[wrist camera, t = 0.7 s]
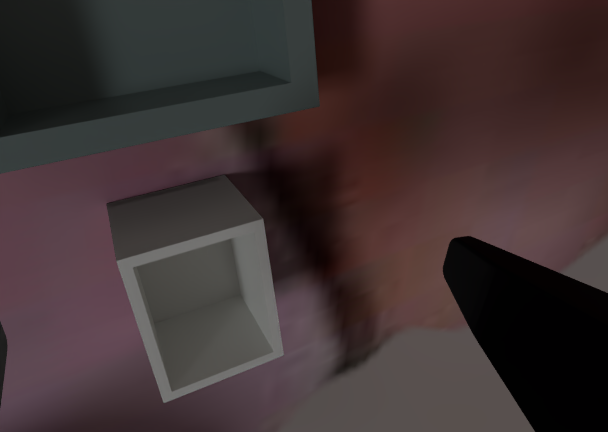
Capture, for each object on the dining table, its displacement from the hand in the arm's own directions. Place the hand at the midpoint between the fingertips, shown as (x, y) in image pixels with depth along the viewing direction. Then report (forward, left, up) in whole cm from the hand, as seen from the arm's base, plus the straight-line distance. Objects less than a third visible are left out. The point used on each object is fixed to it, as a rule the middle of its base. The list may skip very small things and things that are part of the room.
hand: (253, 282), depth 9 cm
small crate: (-5, 0, -12) cm, 13 cm away
